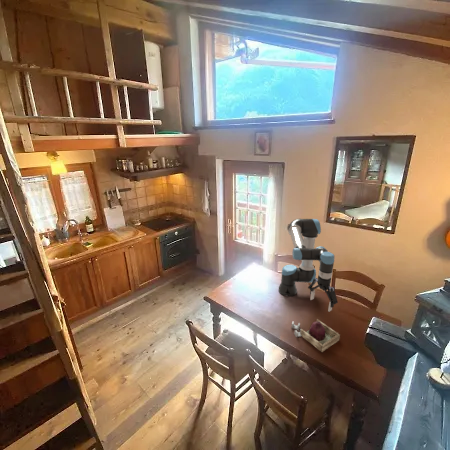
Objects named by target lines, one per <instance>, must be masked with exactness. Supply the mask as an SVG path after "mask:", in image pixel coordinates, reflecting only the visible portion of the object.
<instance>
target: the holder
mask: <svg viewBox="0 0 450 450" xmlns="http://www.w3.org/2000/svg"><path fill="white" fill-rule="evenodd" d="M316 321H319V322H320V323H321V324H322V325H323V327H324V329H325V338H324V339H323V340H322V341H317V340H316V339H315V338H313V337H312V336H311V335H309V329H308V330H307V331H305V329H302V328H300V329H301V332H300V331H299V332H300V334H301V335H302V336H301V337H302V338H303V339H304V340H306V341H307V342H308V343H310V345H312V346H314V347H315V348H316V349H317V350H318V351H320V352H321V353H324V352H325V351H326V350H328V349H329V348H330V347H332V346H333V345H335V344H336V343H338V342H339V341H340V339H341V337H340V336H341V334H340V333H339V332H337V331H335V330H334V329H332V327H330V326H328V325H327V324H326V323H324V322H322V321H321V320H320V319H318V318H317V319H316ZM316 321H315V322H316Z"/></svg>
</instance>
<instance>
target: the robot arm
mask: <svg viewBox="0 0 450 450" xmlns="http://www.w3.org/2000/svg"><path fill="white" fill-rule="evenodd" d="M287 231H288V234H289V236H290V237H291V242H292V245H293V249H292V251H291V252H292V259H293V260H298V261H301V263H300V264H299V266H298V267H297V266H296V265H294V264H287V265H284V266H282V269H281V279H280V281H281V282H280V284H279V286H278V292H279V294H281V295H282V296H284V297H295V296H296V295H297V292H298V290H297V289H298V288H297V286H296V283H310V284H309V285H308V287H307V289H309V291H310V292H309V295H310V301H312V300H314V299H315V293H316V290H317V288H319V289H320V290H322V291H324V293H325V294H326V296H327V298H328V299H329V300H328V301H329V304H328V310H327V311H328V312H331V311H333V308H334V306H335V305H336V304H338V299H337V294H336V292H335V288H336V287H334V286H331V282H332V276H333V272H334V271H333V268H334V263H335V254H334V253H332V252H330V251H328V250H327V249H326V248H325V247H324V246H316V248H315V245H316V243H315V242H316V238H317V237H318V235H320V234H321V233H322V229H321V223H320V220H319V219H317V218H295V219H293V220H292V221H290V223H289V224H288V227H287ZM313 261H318V262H319V269H318V277H317V272H316V268H315V266H314V265H313V264H314V262H313ZM316 283H317V285H316V286H314V285H315V284H316Z"/></svg>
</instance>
